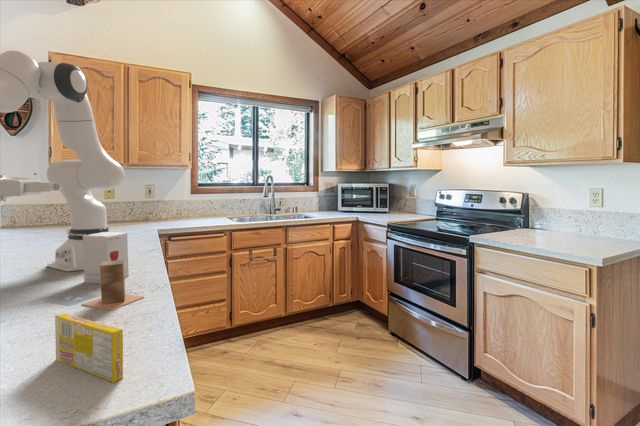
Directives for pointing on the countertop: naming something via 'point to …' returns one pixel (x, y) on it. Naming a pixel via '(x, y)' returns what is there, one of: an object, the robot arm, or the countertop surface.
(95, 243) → the supplement box
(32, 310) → the countertop surface
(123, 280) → the walnut block
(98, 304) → the pad
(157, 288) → the countertop surface
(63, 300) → the grey square tile
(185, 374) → the countertop surface
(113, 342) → the candy box
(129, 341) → the countertop surface
